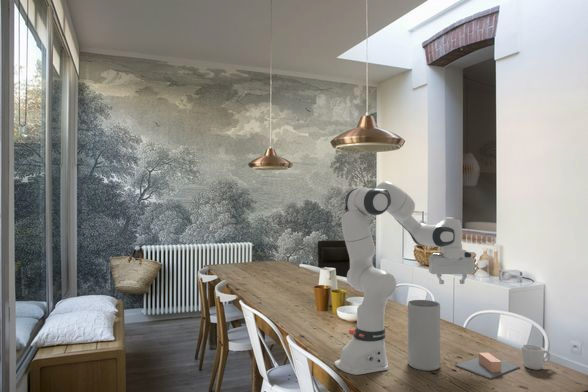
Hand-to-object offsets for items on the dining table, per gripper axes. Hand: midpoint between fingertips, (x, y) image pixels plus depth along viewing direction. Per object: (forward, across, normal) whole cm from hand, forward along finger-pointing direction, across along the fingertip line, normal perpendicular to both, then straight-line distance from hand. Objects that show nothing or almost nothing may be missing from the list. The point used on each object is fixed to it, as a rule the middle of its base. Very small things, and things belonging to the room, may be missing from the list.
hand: (451, 283), depth 191 cm
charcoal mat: (+29, +5, -21) cm, 36 cm away
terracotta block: (+26, +5, -18) cm, 32 cm away
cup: (+29, +25, -23) cm, 45 cm away
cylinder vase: (+29, -20, -18) cm, 40 cm away
